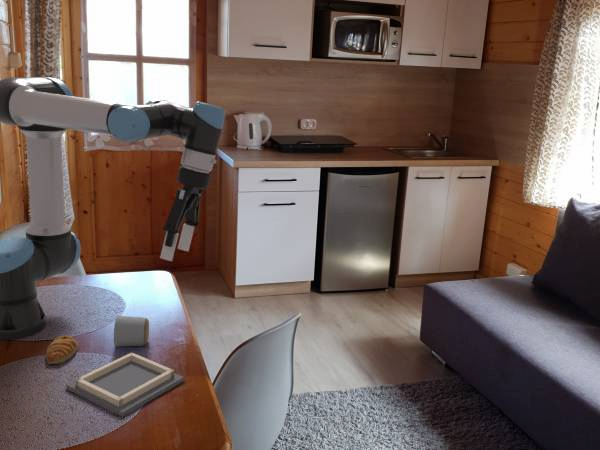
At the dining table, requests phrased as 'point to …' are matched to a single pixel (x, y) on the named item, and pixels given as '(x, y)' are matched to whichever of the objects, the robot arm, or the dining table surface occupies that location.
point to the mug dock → (125, 383)
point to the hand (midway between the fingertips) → (174, 254)
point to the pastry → (61, 350)
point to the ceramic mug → (131, 331)
